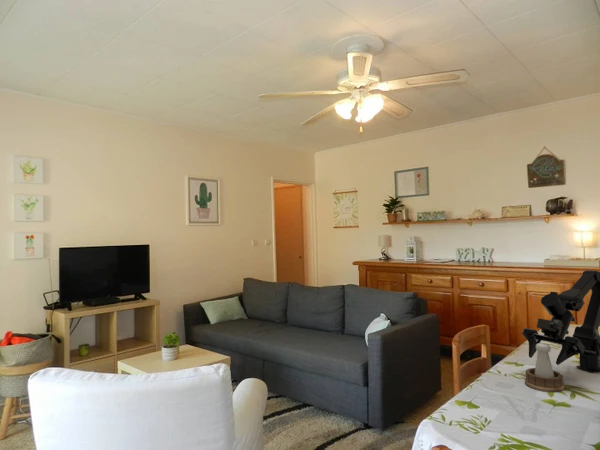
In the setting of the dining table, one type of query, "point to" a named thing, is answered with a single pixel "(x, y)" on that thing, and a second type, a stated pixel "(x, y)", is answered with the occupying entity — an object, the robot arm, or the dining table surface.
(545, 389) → the collar stand
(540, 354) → the salt shaker
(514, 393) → the dining table surface
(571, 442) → the dining table surface
